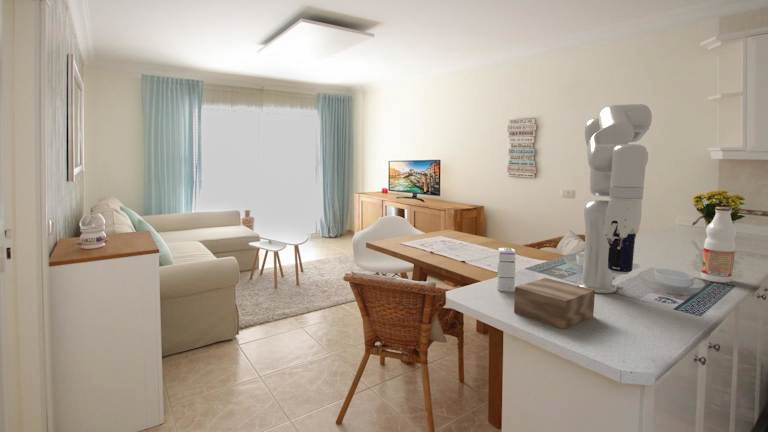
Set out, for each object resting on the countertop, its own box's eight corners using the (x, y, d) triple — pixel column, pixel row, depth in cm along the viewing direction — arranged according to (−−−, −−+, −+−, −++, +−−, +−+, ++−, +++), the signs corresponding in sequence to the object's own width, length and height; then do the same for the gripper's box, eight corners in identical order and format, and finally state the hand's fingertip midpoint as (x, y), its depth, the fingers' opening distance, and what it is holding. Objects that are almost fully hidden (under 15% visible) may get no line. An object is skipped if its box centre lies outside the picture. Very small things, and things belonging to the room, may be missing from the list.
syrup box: (514, 292, 147) (516, 251, 145) (497, 291, 148) (498, 250, 146) (513, 287, 152) (515, 247, 150) (496, 286, 153) (497, 247, 151)
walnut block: (544, 301, 137) (545, 277, 136) (593, 316, 124) (595, 290, 123) (514, 312, 127) (515, 286, 126) (563, 329, 114) (565, 301, 113)
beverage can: (608, 267, 116) (612, 225, 114) (632, 271, 112) (636, 227, 110) (606, 272, 111) (609, 228, 109) (630, 276, 108) (634, 230, 106)
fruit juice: (717, 283, 156) (726, 209, 153) (694, 277, 166) (701, 206, 162) (738, 282, 158) (746, 208, 155) (713, 275, 168) (721, 205, 164)
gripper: (626, 190, 116) (620, 253, 119) (594, 194, 106) (589, 263, 109) (656, 192, 110) (649, 259, 113) (626, 197, 100) (619, 270, 103)
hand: (620, 260), depth 111 cm, fingers closed on beverage can, 5 cm apart
